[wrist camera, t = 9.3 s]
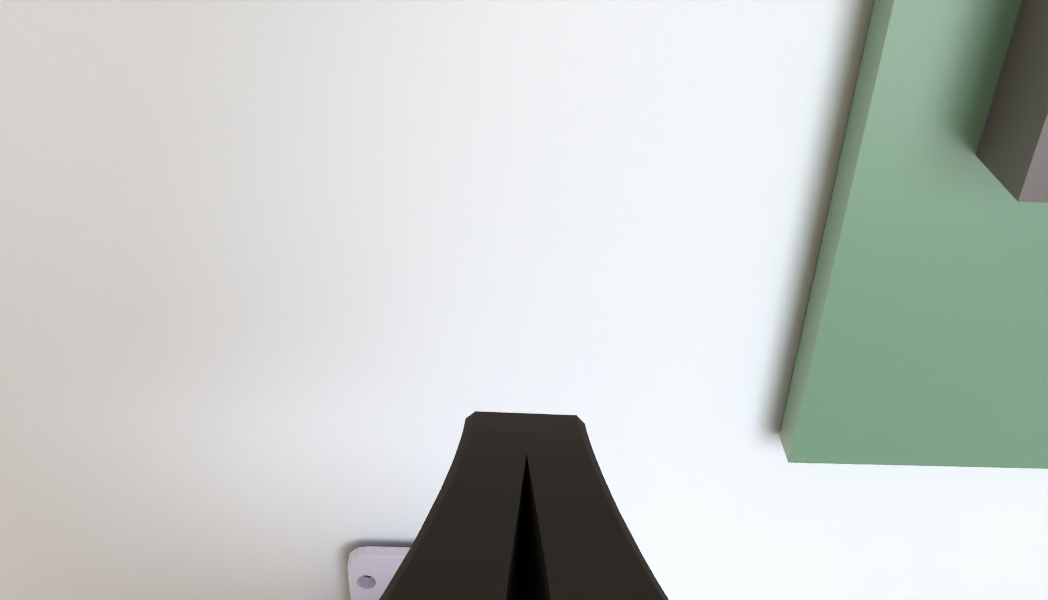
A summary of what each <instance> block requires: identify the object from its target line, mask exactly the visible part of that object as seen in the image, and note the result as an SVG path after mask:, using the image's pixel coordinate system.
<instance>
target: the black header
mask: <svg viewBox="0 0 1048 600" xmlns="http://www.w3.org/2000/svg"><path fill="white" fill-rule="evenodd" d="M976 157H977V158H978V159H979V160H980V161H981V162H982V163H983V164H984V165H985V166H986V167H987V169H988V170H989V171H990V172H991V173H992V174H993V175H994V176H995V177H996V178H997V179H998V181H999V182H1000V183H1001V184H1002V185H1003V186H1004V187H1005V188H1006V189H1007V190H1008V191H1009V192H1010V194H1011V195H1012V196H1013V197H1014V198H1015V199H1016V200H1017V201H1018V202H1045V203H1048V0H1022V2H1021V5H1020V9H1019V12H1018V15H1017V19H1016V22H1015V25H1014V29H1013V32H1012V35H1011V39H1010V42H1009V45H1008V49H1007V52H1006V55H1005V59H1004V62H1003V65H1002V69H1001V72H1000V76H999V79H998V82H997V86H996V89H995V92H994V96H993V99H992V102H991V106H990V109H989V112H988V116H987V119H986V122H985V126H984V129H983V132H982V136H981V139H980V142H979V146H978V149H977V152H976Z"/></svg>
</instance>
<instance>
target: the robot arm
mask: <svg viewBox="0 0 1048 600" xmlns="http://www.w3.org/2000/svg"><path fill="white" fill-rule="evenodd" d="M347 573H348V584H349V594H350V600H668V598H667V596H666V595H665V593H664V591H663V590H662V588H661V586H660V585H659V583H658V582H657V580H656V578H655V577H654V575H653V573H652V571H651V570H650V568H649V566H648V564H647V563H646V561H645V559H644V557H643V556H642V554H641V552H640V550H639V548H638V546H637V544H636V542H635V541H634V539H633V537H632V535H631V533H630V531H629V529H628V527H627V525H626V523H625V522H624V520H623V518H622V516H621V514H620V512H619V510H618V508H617V506H616V503H615V501H614V499H613V497H612V495H611V493H610V491H609V488H608V486H607V484H606V481H605V479H604V477H603V475H602V472H601V470H600V467H599V465H598V463H597V460H596V457H595V455H594V452H593V449H592V447H591V444H590V441H589V438H588V434H587V431H586V427H585V424H584V423H583V422H582V421H581V420H580V419H579V418H578V417H577V416H576V415H552V414H527V413H501V412H476V411H475V412H474V413H473V414H471V415H470V416H469V417H467V418H466V420H465V424H464V429H463V433H462V437H461V440H460V443H459V446H458V449H457V452H456V455H455V457H454V460H453V462H452V465H451V467H450V470H449V472H448V474H447V476H446V479H445V481H444V483H443V486H442V488H441V490H440V492H439V494H438V496H437V498H436V500H435V502H434V504H433V506H432V508H431V510H430V512H429V514H428V516H427V518H426V520H425V522H424V524H423V526H422V528H421V530H420V532H419V534H418V535H417V537H416V539H415V541H414V543H413V544H412V546H411V547H376V546H365V547H358V548H356V549H354V550H353V551H352V552H351V553H350V554H349V559H348V564H347ZM365 575H367V576H371V577H370V578H368V577H364V576H365Z"/></svg>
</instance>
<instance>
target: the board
mask: <svg viewBox="0 0 1048 600" xmlns="http://www.w3.org/2000/svg"><path fill="white" fill-rule="evenodd" d="M1021 2H1022V0H874V5H873V9H872V14H871V18H870V23H869V28H868V32H867V37H866V41H865V46H864V50H863V55H862V60H861V64H860V69H859V73H858V78H857V82H856V87H855V92H854V96H853V101H852V105H851V110H850V114H849V119H848V124H847V128H846V133H845V137H844V142H843V147H842V151H841V156H840V160H839V165H838V169H837V174H836V179H835V183H834V188H833V192H832V197H831V201H830V206H829V211H828V215H827V220H826V224H825V229H824V233H823V238H822V243H821V247H820V252H819V256H818V261H817V265H816V270H815V275H814V279H813V284H812V288H811V293H810V297H809V302H808V307H807V311H806V316H805V320H804V325H803V329H802V334H801V339H800V343H799V348H798V352H797V357H796V361H795V366H794V371H793V375H792V380H791V384H790V389H789V393H788V398H787V403H786V407H785V412H784V416H783V421H782V426H781V430H780V435H779V436H780V439H781V442H782V445H783V448H784V451H785V454H786V457H787V460H788V462H794V463H835V464H877V465H918V466H960V467H1001V468H1043V469H1048V203H1045V202H1018V201H1017V200H1016V199H1015V198H1014V197H1013V196H1012V195H1011V194H1010V192H1009V191H1008V190H1007V189H1006V188H1005V187H1004V186H1003V185H1002V184H1001V183H1000V182H999V181H998V179H997V178H996V177H995V176H994V175H993V174H992V173H991V172H990V171H989V170H988V169H987V167H986V166H985V165H984V164H983V163H982V162H981V161H980V160H979V159H978V158H977V157H976V152H977V149H978V146H979V142H980V139H981V136H982V132H983V129H984V126H985V122H986V119H987V116H988V112H989V109H990V106H991V102H992V99H993V96H994V92H995V89H996V86H997V82H998V79H999V76H1000V72H1001V69H1002V65H1003V62H1004V59H1005V55H1006V52H1007V49H1008V45H1009V42H1010V39H1011V35H1012V32H1013V29H1014V25H1015V22H1016V19H1017V15H1018V12H1019V9H1020V5H1021Z"/></svg>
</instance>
